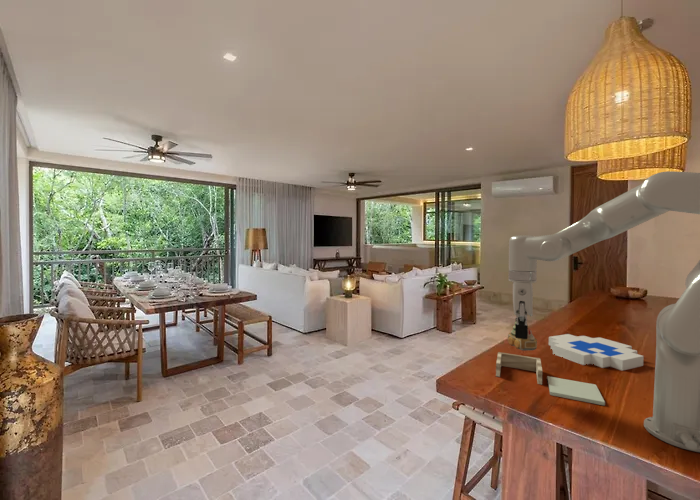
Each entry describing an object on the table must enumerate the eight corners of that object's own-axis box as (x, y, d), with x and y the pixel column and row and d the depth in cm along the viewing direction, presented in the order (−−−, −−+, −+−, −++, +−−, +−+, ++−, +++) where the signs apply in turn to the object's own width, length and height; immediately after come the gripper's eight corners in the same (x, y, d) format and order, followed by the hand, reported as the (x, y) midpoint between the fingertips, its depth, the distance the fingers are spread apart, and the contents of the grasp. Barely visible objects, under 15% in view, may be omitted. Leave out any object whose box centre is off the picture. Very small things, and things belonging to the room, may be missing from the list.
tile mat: (604, 405, 91) (604, 402, 91) (550, 395, 97) (550, 391, 97) (595, 387, 101) (595, 384, 101) (547, 379, 107) (547, 376, 107)
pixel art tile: (656, 353, 121) (607, 363, 111) (656, 363, 121) (607, 375, 112) (580, 332, 147) (535, 338, 137) (580, 340, 148) (535, 348, 138)
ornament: (541, 351, 95) (541, 317, 95) (523, 352, 94) (523, 318, 94) (521, 342, 103) (521, 311, 103) (504, 344, 102) (504, 312, 101)
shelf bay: (541, 384, 103) (542, 370, 103) (495, 376, 110) (496, 363, 109) (539, 371, 114) (540, 358, 114) (497, 363, 120) (498, 351, 120)
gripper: (538, 280, 89) (536, 345, 89) (535, 274, 104) (534, 328, 105) (507, 279, 92) (506, 341, 93) (509, 272, 107) (508, 326, 108)
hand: (521, 334), depth 99 cm, fingers closed on ornament, 7 cm apart
